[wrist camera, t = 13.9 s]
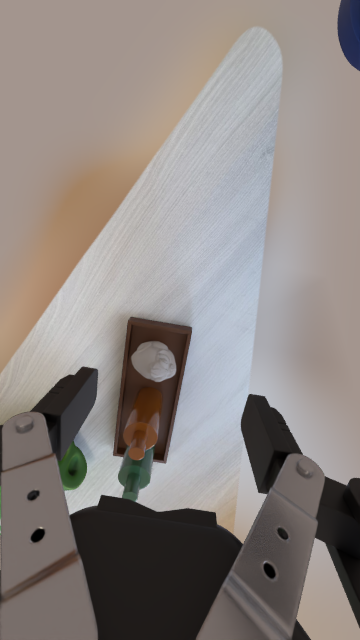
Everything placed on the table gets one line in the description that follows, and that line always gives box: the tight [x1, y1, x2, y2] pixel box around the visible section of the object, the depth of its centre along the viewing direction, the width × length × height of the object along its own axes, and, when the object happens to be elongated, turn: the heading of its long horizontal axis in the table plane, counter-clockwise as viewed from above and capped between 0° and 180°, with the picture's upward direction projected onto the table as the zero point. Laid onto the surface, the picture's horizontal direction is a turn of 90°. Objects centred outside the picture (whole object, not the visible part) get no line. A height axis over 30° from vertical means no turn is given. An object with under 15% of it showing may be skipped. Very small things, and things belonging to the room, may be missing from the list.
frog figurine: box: [131, 341, 176, 382], centre depth 37 cm, size 6×7×7 cm
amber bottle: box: [123, 387, 163, 460], centre depth 37 cm, size 5×5×12 cm
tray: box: [113, 317, 192, 463], centre depth 42 cm, size 27×10×2 cm, turn 170°
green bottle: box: [118, 444, 156, 502], centre depth 39 cm, size 5×5×12 cm
